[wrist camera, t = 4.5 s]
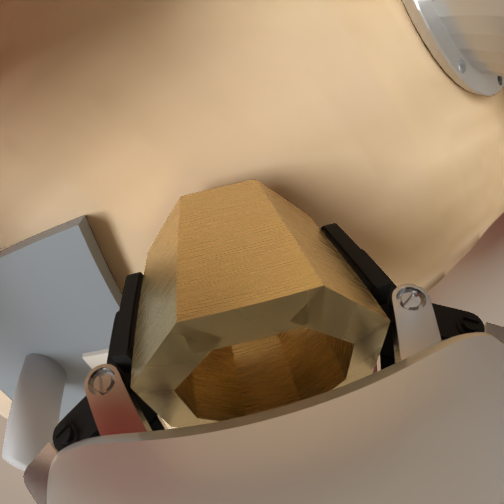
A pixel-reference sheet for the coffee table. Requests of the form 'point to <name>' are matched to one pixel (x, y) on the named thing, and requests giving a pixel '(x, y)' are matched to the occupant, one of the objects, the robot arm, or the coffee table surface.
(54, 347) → the post base
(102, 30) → the coffee table surface
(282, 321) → the cup
